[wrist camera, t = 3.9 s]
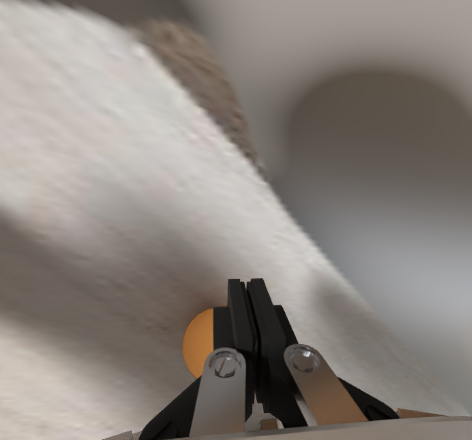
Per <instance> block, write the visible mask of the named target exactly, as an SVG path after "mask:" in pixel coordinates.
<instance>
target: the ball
mask: <svg viewBox="0 0 472 440" xmlns="http://www.w3.org/2000/svg"><path fill="white" fill-rule="evenodd" d="M182 351H183V357H184V361H185V363H186V366H187V367H188V369H189V371H190V372H191V373H192V374H193V375H194V376H195V377H196V378H197V379H198V378H199V377H200V376H201V375H202V372H203V367H204V362H205V360H206V357H207V356H208V355H209V354H210V353H211V352H212V351H213V308H211V309H208V310H205V311H203V312H201V313H200V314H198V315H197V316H196V317H195V318H194V319H193V320H192V321H191V322H190V324H189V325H188V327H187V329H186V332H185V334H184V338H183V346H182Z"/></svg>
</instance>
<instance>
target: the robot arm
mask: <svg viewBox="0 0 472 440" xmlns="http://www.w3.org/2000/svg"><path fill="white" fill-rule="evenodd" d="M255 393H256V399H257V403H262V405H263V410H264V413H271V414H272V415H273V416H275V417H276V418H277V425H278V429H273V430H261V431H250V432H245V422H246V421H247V420H248V418H249V417H250V416H251V414H252V405H253V404H254V394H255ZM103 440H472V417H467V416H444V415H438V414H431V413H425V412H418V411H412V410H406V409H399V408H398V410H397V412H395V411H393V410H392V409H391V408H390V407H389V406H387V405H386V404H384V403H383V402H381V401H379V400H377V399H376V398H374V397H372V396H370V395H369V394H367V393H365V392H363V391H362V390H360V389H358V388H356V387H355V386H353V385H351V384H349V383H348V382H346V381H344V380H342V379H341V378H339V377H337V376H336V375H335V374H334V372H333V371H332V369H331V368H330V366H329V365H328V364H327V362H326V361H325V359H324V358H323V357H322V355H321V354H320V353H319V352H318V351H317V350H315V349H314V348H312V347H310V346H308V345H304V344H299V343H298V341H297V339H296V337H295V334H294V332H293V330H292V327H291V325H290V323H289V321H288V318H287V316H286V314H285V312H284V309H283V307H282V306H281V305H273V304H272V301H271V298H270V296H269V293H268V291H267V288H266V286H265V283H264V280H263V278H257V279H251V282H247V288H245V284H244V282H240V279H228V303H227V307H213V351H212V352H211V353H210V354H209V355H208V356H207V357H206V360H205V362H204V367H203V372H202V375H201V376H200V377H199V378H198V379H197V380H195V381H194V382H193V383H192V384H191V385H190V386H189V387H188V388H187V389H185V390H184V391H183V392H182V393H181V394H180V395H179V396H178V397H177V398H175V399H174V400H173V401H172V402H171V403H170V404H169V405H168V406H167V407H165V408H164V409H163V410H162V411H161V412H160V413H159V414H158V415H157V416H156V417H154V418H153V419H152V420H151V421H150V422H149V423H148V424H147V425H146V427H145V428H144V429H143V431H141V432H138V433H135V434H132V430H131V431H128V432H125V433H121V434H118V435H115V436H112V437H109V438H106V439H103Z"/></svg>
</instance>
